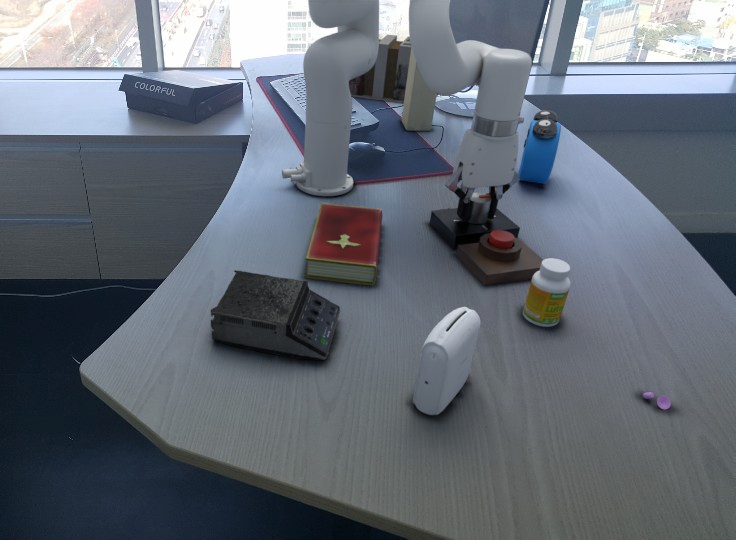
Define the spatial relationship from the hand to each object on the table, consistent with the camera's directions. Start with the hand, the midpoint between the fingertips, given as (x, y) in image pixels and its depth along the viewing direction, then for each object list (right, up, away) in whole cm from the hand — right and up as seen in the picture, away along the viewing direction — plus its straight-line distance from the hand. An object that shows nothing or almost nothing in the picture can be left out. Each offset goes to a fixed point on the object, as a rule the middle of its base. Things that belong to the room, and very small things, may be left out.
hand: (475, 216), depth 121 cm
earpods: (+11, -28, -36) cm, 47 cm away
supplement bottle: (+3, -18, -21) cm, 27 cm away
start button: (+1, -6, -9) cm, 11 cm away
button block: (+2, -9, -8) cm, 13 cm away
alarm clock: (+20, +10, +22) cm, 32 cm away
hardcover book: (-25, -7, -4) cm, 26 cm away
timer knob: (0, 0, 0) cm, 0 cm away
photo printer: (-17, -27, -35) cm, 47 cm away
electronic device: (-38, -19, -23) cm, 49 cm away
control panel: (0, -3, +2) cm, 4 cm away
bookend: (-3, +45, +77) cm, 89 cm away
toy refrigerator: (+2, +29, +52) cm, 59 cm away
